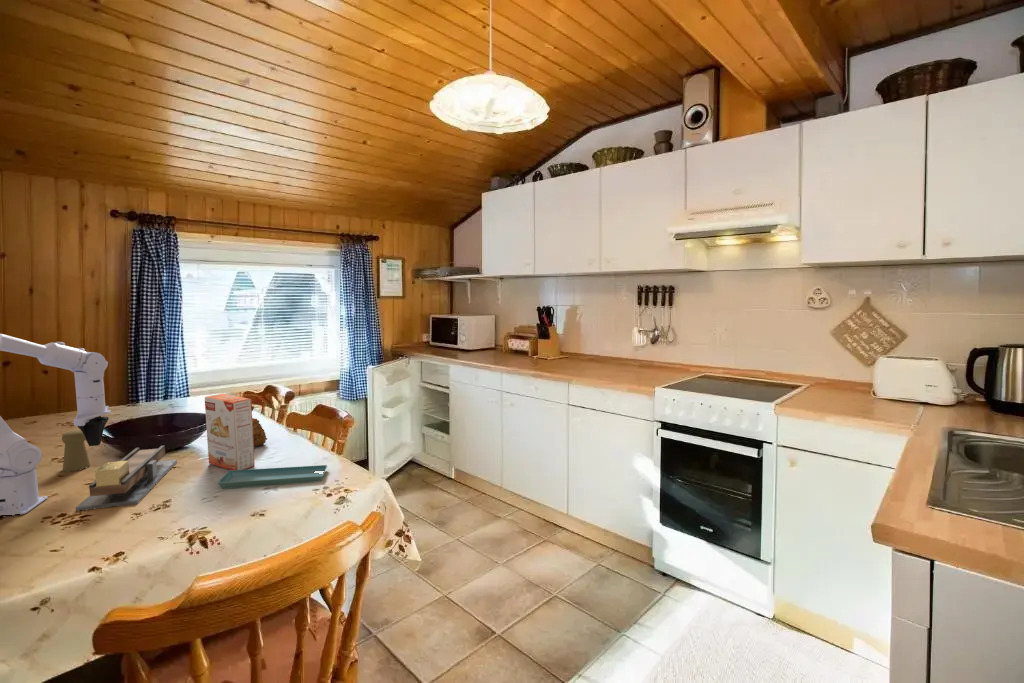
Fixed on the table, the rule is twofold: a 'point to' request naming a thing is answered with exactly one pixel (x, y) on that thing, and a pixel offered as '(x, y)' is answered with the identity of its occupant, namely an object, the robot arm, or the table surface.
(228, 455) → the cracker box
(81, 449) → the olive green shaker
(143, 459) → the walnut beam
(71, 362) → the robot arm
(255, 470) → the rectangular tray
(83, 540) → the table surface
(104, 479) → the brass block
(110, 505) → the pivot stand
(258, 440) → the stuffed squirrel
